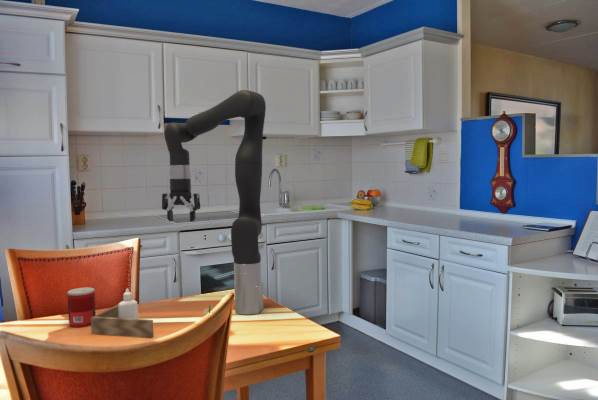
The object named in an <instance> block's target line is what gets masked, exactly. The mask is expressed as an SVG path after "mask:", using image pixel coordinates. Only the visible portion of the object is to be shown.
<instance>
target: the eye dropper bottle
mask: <svg viewBox="0 0 598 400" xmlns="http://www.w3.org/2000/svg"><path fill="white" fill-rule="evenodd" d="M132 296H133V295H132V292H130V290H129V288H126V289H125V292H124V293H123V294H122V297H123V300H122V301H120V302H119V303H118V304H117V305H118V315H119V318H129V319H139V312H138V311H139V309H138V301H136V300H135V299H133V297H132Z"/></svg>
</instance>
